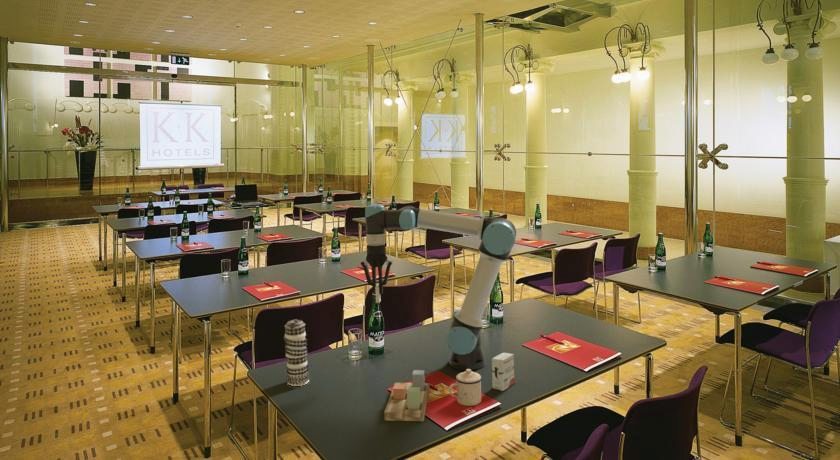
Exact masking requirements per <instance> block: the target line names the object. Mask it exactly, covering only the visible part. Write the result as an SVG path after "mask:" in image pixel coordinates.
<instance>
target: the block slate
mask: <svg viewBox="0 0 840 460" xmlns="http://www.w3.org/2000/svg"><path fill="white" fill-rule="evenodd" d="M411 376H412V383H413V387H420V391H424V388H425V383H426V380H425V379H426V377H425V370H423V369H414V370H413V371H412V374H411Z"/></svg>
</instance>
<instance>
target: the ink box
mask: <svg viewBox="0 0 840 460" xmlns="http://www.w3.org/2000/svg"><path fill="white" fill-rule="evenodd" d="M514 359H515V355H514V353H510V352H502V353H500V354H497V355H496V356H494V357H491V379H492V380H491V382H492V385H491V386H492V389H494V390H498V391H501V392H503V391H505V390H507V389H508V388H510V387H511V386H513V385H514V384H515V360H514Z"/></svg>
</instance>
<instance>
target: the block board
mask: <svg viewBox="0 0 840 460" xmlns="http://www.w3.org/2000/svg"><path fill="white" fill-rule="evenodd" d="M395 384H406V400H393V389H392V390H391V392H390V395H389V399H388V401H387V404H386V405H385V409H384V412H383V413H384V415H383V416H384V421H387V422H388V421H393V422H394V421H396V422H398V421H400V422H424V420H425V415H426V410H427V405H428V401H429V395H430V392H431V391H430V390H431V389H430V382H425V388H424V391H420V400H421V405H420V409H419V410H408V406H407V390H408V387H413V382H394V384H393V386H394V385H395Z"/></svg>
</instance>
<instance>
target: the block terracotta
mask: <svg viewBox="0 0 840 460" xmlns="http://www.w3.org/2000/svg"><path fill="white" fill-rule="evenodd" d="M394 384H395V383H394ZM394 384H393V387H392V390H393V400H406V384H395V385H394Z"/></svg>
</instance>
